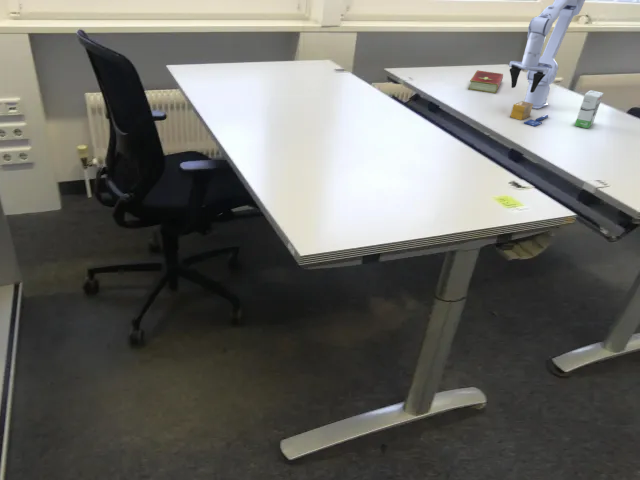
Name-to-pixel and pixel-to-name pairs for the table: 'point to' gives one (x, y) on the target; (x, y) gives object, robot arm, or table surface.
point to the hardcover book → (486, 81)
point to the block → (521, 110)
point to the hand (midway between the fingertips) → (522, 89)
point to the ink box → (589, 109)
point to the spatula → (535, 121)
